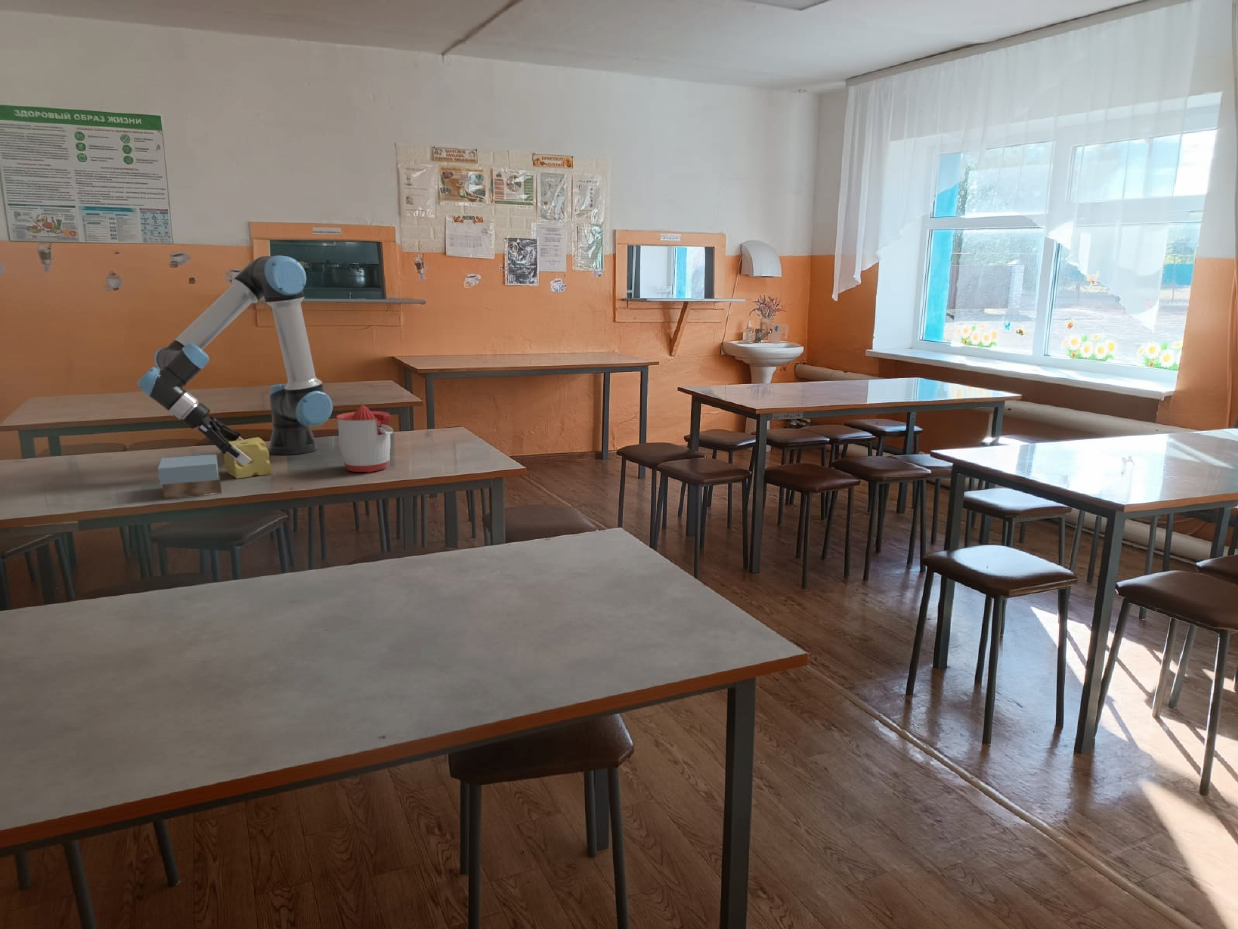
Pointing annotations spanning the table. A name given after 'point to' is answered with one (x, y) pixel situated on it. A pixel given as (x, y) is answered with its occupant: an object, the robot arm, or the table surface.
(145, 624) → the table surface
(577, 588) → the table surface
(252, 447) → the cheese
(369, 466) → the citrus juicer
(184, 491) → the tower base block
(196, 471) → the tower top block
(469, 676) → the table surface
